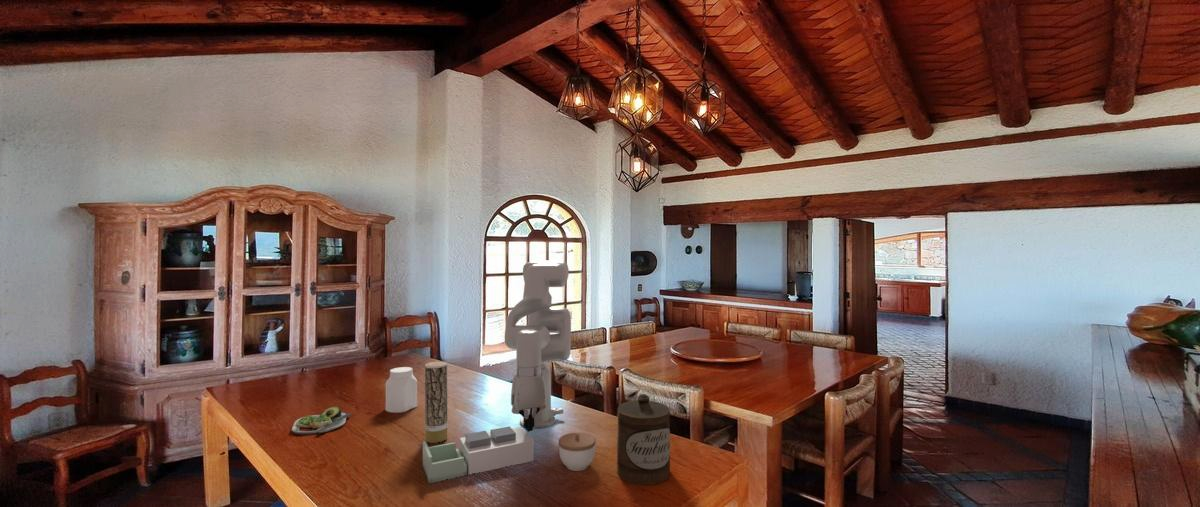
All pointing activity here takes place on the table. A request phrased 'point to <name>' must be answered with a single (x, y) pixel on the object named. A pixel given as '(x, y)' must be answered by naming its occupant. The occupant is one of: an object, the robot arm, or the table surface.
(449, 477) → the box
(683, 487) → the table surface
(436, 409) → the bark-textured canister
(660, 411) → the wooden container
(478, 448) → the white rectangular block
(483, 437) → the slate tile front
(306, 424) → the avocado toast plate
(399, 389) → the jar
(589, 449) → the lidded jar
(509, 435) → the slate tile back
